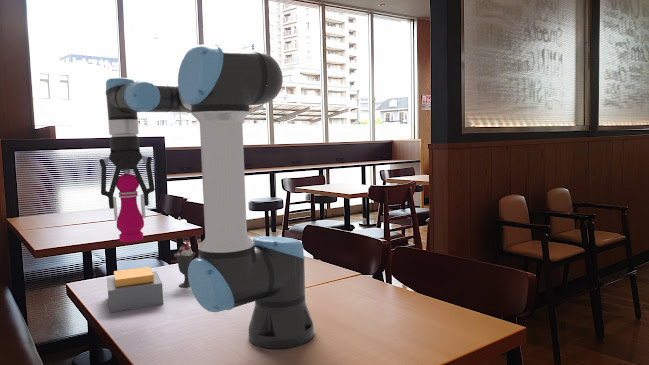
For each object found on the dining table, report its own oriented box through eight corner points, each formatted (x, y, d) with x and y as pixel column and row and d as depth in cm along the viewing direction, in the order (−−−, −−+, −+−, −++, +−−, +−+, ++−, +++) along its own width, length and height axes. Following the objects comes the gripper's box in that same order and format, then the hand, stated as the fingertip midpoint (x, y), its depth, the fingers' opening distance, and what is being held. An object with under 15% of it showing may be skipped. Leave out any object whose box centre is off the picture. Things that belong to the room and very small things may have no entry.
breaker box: (163, 303, 142) (162, 283, 142) (109, 312, 137) (108, 290, 136) (157, 290, 155) (156, 271, 154) (108, 297, 149) (106, 277, 149)
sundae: (194, 288, 156) (192, 240, 155) (173, 288, 156) (170, 241, 155) (200, 281, 163) (197, 236, 161) (179, 282, 163) (177, 236, 162)
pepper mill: (135, 242, 137) (130, 169, 135) (112, 242, 139) (106, 169, 137) (150, 237, 144) (145, 167, 142) (127, 237, 146) (122, 167, 144)
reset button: (154, 298, 143) (153, 274, 143) (116, 304, 139) (115, 279, 138) (151, 289, 152) (149, 266, 152) (115, 294, 148) (113, 271, 148)
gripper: (159, 135, 146) (164, 213, 148) (85, 137, 138) (92, 220, 140) (162, 134, 139) (167, 217, 141) (84, 136, 131) (91, 224, 134)
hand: (130, 218), depth 141 cm, fingers closed on pepper mill, 6 cm apart
